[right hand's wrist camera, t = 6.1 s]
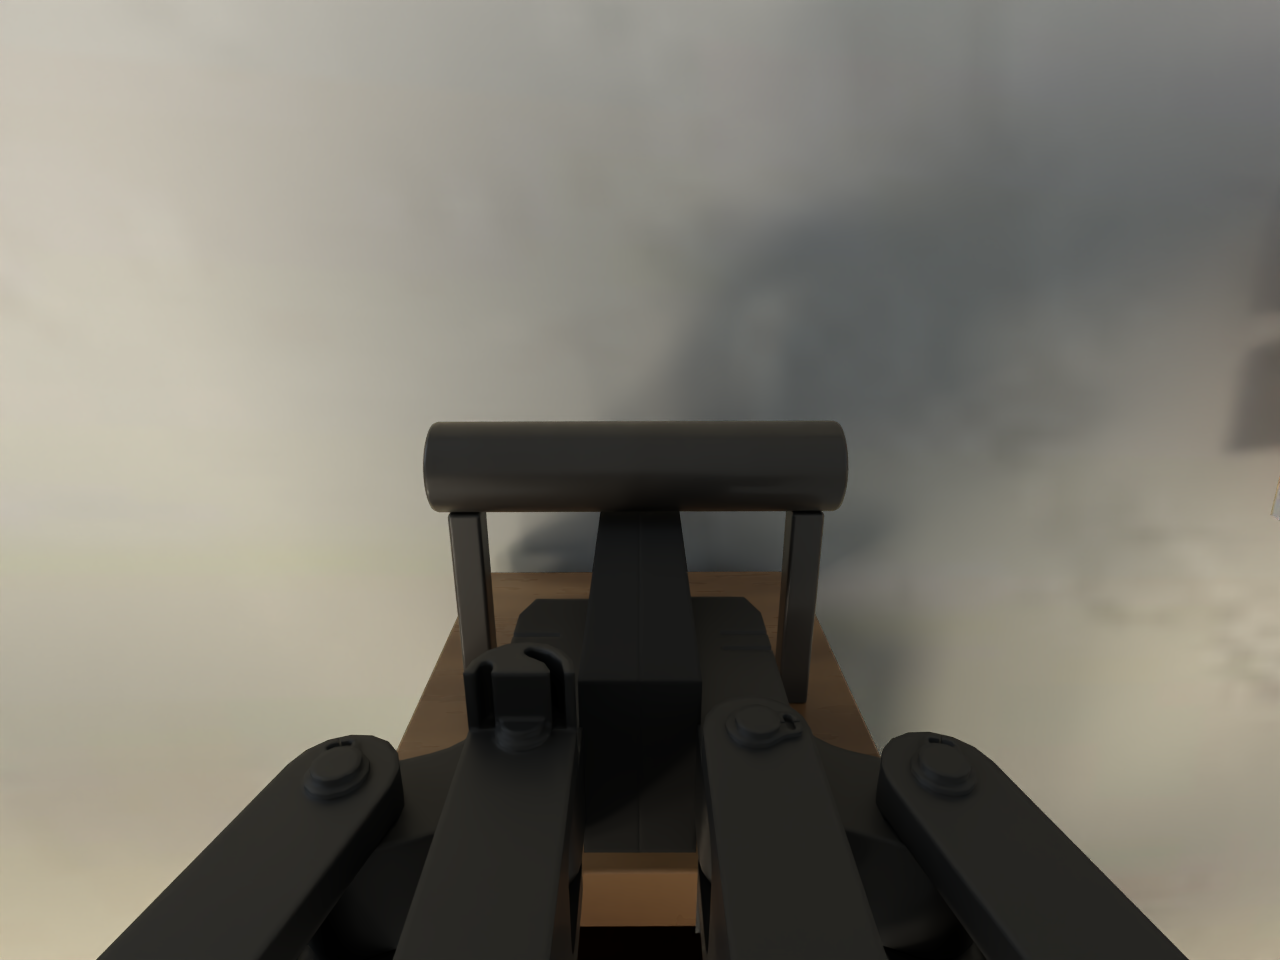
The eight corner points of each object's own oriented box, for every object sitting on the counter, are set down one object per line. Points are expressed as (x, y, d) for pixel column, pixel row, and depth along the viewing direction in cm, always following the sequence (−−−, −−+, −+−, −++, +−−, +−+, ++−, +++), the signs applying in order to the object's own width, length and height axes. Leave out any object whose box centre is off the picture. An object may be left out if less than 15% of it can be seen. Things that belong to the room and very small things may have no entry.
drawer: (458, 365, 18) (269, 514, 9) (813, 364, 18) (1000, 511, 9) (517, 1022, 26) (452, 1455, 17) (759, 1020, 26) (826, 1452, 17)
